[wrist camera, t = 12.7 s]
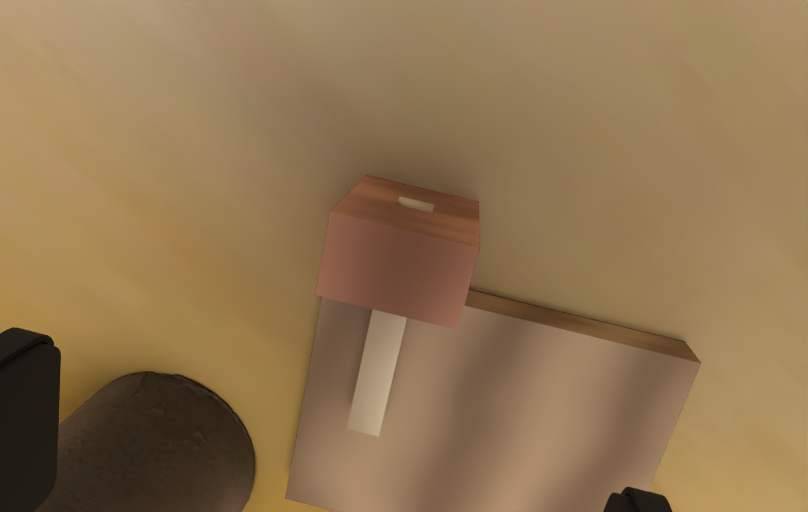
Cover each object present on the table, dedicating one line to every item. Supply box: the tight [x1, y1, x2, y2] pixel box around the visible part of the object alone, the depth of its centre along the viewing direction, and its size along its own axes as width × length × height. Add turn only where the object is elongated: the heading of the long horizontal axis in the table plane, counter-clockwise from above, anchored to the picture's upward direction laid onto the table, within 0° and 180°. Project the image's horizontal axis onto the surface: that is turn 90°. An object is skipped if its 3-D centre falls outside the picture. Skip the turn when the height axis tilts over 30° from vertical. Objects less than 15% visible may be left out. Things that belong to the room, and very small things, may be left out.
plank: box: [285, 290, 701, 512], centre depth 28 cm, size 16×12×2 cm
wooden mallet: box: [315, 175, 480, 437], centre depth 25 cm, size 5×10×7 cm, turn 168°
